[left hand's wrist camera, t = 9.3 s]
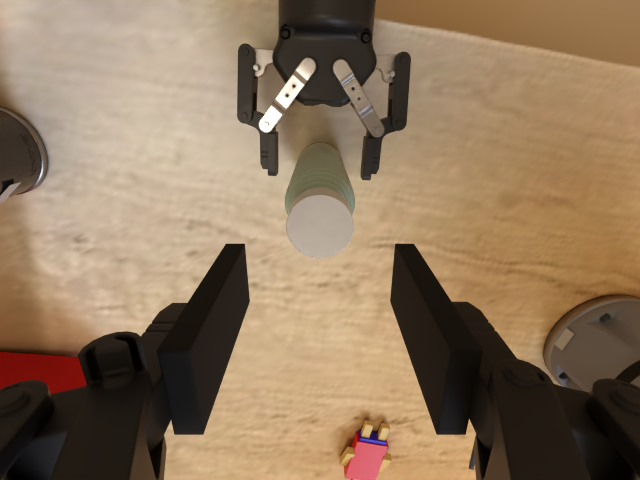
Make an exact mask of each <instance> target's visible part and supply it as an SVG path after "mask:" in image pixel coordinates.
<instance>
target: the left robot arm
mask: <svg viewBox="0 0 640 480" xmlns="http://www.w3.org/2000/svg"><path fill="white" fill-rule="evenodd" d="M249 302H250V299H249V287H248V276H247V264H246V253H245V244H226V245H225V246H224V248H223V249H222V251H221V253H220V254H219V256H218V257H217V259H216V260H215V262H214V263H213V265H212V266H211V268H210V269H209V271H208V272H207V274H206V276H205V277H204V279H203V280H202V282H201V283H200V285H199V286H198V288H197V289H196V291H195V292H194V294H193V296H192V297H191V299H190V300H189V302H188V303H172V304H170V305H169V306H167V307H166V308H164V309H163V310H162V311H160V312H159V313H158V315H157V316H156V317H155V319H154V320H153V321H152V324H150V325H149V327H148V328H147V329H146V332H144V333H143V334H142V336H141V337H140V336H139V335H138V334H137V333H133V332H128V331H127V332H116V333H112V334H108V335H104V336H102V337H100V338H98V339H96V340H94V341H92V342H91V343H89V344H88V345H86V346H85V347H84V348H83V349H82V350H81V351H80V353H79V354H78V358H79V361H80V364H81V368H82V371H83V374H84V377H85V380H86V383H87V384H86V386H83V387H80V388H75V389H71V390H66V391H62V392H58V393H53V394H51V393H50V391H49V388H48V385H47V384H46V383H44V382H43V381H40V380H27V381H21V382H17V383H14V384H12V385H9V386H6V387H4V388H2V389H0V480H164V470H165V459H166V442H165V437H164V433H165V431H166V429H167V427H168V425H169V423H170V421H172V425H173V430H174V435H203V434H204V431H205V428H206V425H207V422H208V419H209V416H210V414H211V411H212V408H213V405H214V402H215V399H216V396H217V394H218V391H219V388H220V385H221V382H222V379H223V376H224V374H225V371H226V368H227V365H228V362H229V359H230V356H231V353H232V351H233V348H234V345H235V342H236V339H237V336H238V333H239V331H240V328H241V325H242V322H243V319H244V316H245V313H246V310H247V308H248V305H249ZM390 302H391V305H392V308H393V311H394V313H395V316H396V319H397V322H398V325H399V328H400V331H401V333H402V336H403V339H404V342H405V345H406V348H407V351H408V353H409V356H410V359H411V362H412V365H413V368H414V371H415V374H416V376H417V379H418V382H419V385H420V388H421V391H422V394H423V396H424V399H425V402H426V405H427V408H428V411H429V414H430V417H431V419H432V422H433V425H434V428H435V431H436V434H437V435H466V430H467V425H468V421H469V419H470V421H471V423H472V425H473V427H474V430H475V432H476V437H475V441H474V446H473V450H472V454H471V459H470V464H469V469H474V465H475V469H476V480H640V298H637V297H633V296H627V295H612V296H605V297H601V298H597V299H594V300H591V301H589V302H586V303H584V304H582V305H580V306H578V307H577V308H575V309H573V310H572V311H571V312H569V313H568V314H567V315H565V316H564V317H563V318H562V319H561V320H560V321H559V322H558V323H557V324H556V326H555V327H554V328H553V330H552V331H551V333H550V334H549V336H548V339H547V341H546V344H545V348H544V360H545V364H546V367H547V369H548V370H549V372H550V373H551V374H552V376H553V377H554V378H555V379H556V380H557V381H558V383H559V384H561V385H562V386H563V387H562V386H559V385H555V384H553V382H552V381H551V379H550V378H549V376H548V375H547V374H546V373H545V372H543V371H542V370H541V369H540V368H538V367H536V366H534V365H532V364H530V363H529V362H526V361H522V360H519V359H517V358H516V357H515V355H514V354H513V353H512V351H511V350H510V349H509V347H508V346H507V345H506V343H505V342H504V341H503V340H502V338H501V337H500V336H499V334H498V333H497V332H496V331H495V329H494V328H493V326H492V325H491V324H490V323H488V320H487V319H486V317H485V316H484V315H483V313H482V312H481V311H480V310H479V309H477V308H476V307H474V306H473V305H471V304H470V303H469V302H451V300H450V299H449V297H448V296H447V294H446V292H445V291H444V289H443V288H442V286H441V285H440V283H439V282H438V280H437V279H436V277H435V276H434V274H433V272H432V271H431V269H430V268H429V266H428V265H427V263H426V262H425V260H424V259H423V257H422V256H421V254H420V253H419V251H418V249H417V248H416V246H415V245H414V244H395V253H394V264H393V276H392V287H391V299H390Z"/></svg>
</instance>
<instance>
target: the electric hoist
mask: <svg viewBox="0 0 640 480" xmlns="http://www.w3.org/2000/svg"><path fill="white" fill-rule="evenodd" d="M27 380H40V381H43V382H44V383H46V384H47V385H48V388H49V391H50V393H51V394H53V393H58V392H62V391H66V390H71V389H75V388H80V387H83V386H86V384H87V383H86V380H85V377H84V374H83V371H82V368H81V364H80V361H79V358H78V357H65V356H51V355H38V354H24V353H10V352H0V389H2V388H4V387H6V386H9V385H12V384H14V383H17V382H21V381H27Z"/></svg>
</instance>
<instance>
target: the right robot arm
mask: <svg viewBox="0 0 640 480" xmlns="http://www.w3.org/2000/svg"><path fill="white" fill-rule="evenodd" d="M375 1H376V0H279V37H278V42H277V45H276V47H275V49H274V50H268V49H259V48H253V47H251V46H250V45H249V44H242V45H241V46H240V47H239V50H238V102H237V117H238V119H239V121H240V122H242V123H246V124H248V125H251V126H253V127H255V128H256V129H257V130H258V131H259V133H260V156H261V165H262V168H263V169H268V176H276V175H277V174H278V132H276V126H277V124H278V123H279V122H280V120H281V119H282V118H283V116H284V115H285V114H286V112H287V111H288V110H289V109H290V107H291V106H292V105H293V103H294V102H295V101H296V100H297V101H298V102H300V103H301V104H304V105H309V106H314V105H318V104H326V105H329V106H332V107H341V106H344V105H346V104H348V103H350V105H351V106H352V108H353V109H354V111H355V113H356V114H357V115H358V117H359V118H360V120H361V122H362V123H363V125H364V127H365V128H366V130H367V134H366V136H364V139H363V151H362V162H361V178H362V180H370V179H371V174H376V173H377V171H378V169H379V162H380V152H381V143H382V139H383V137H384V136H385V135H386V134H388V133H391V132H394V131H400V130H403V129H404V128H405V126H406V122H407V107H408V93H409V78H410V64H411V57H410V55H409V54H408V53H407V52H401V53H398V54H396V55H376V54H375V52H374V49H373V44H372V36H373V24H374V12H375ZM270 64H274V66H275V68H276V69H277V71H278V73H279V74H280V76H281V77H282V79H283V80H284V82H285V86H284V87H283V89H282V90H281V91H280V93H279V94H278V95H277V97H276V98H275V100H274V101H273V103H272V105H271V106H270V107H269V109H268V110H267V112H266V113H265V114H263V113H261V112H258V111H257V85H258V77H262V76H264V74H265V73H266V69H267V67H268V65H270ZM375 68H376V69H378V70H379V71H380V72H381V75H382V80H383V81H384V82H386V83H389V93H388V113H387V117H386V118H383V119H379V117H378V116H377V114H376V112H375V111H374V109H373V107H372V105H371V103H370V101H369V99H368V98H367V96H366V94H365V93H364V91H363V89H362V88H361V87H362V86H363V84H364V83H365V82H366V81H367V79H368V78H369V77H370V75H371V74H372V73H373V71H374V70H375ZM47 169H48V157H47V152H46V149H45V146H44V144H43V142H42V140H41V138H40V136H39V135H38V133H37V132H36V131H35V129H34V128H33V127H32V126H31V125H30V124H29V123H28V122H27V121H26V120H25V119H24V118H22V117H21V116H20V115H18V114H17V113H15V112H13V111H11V110H9V109H7V108H4V107H1V106H0V203H2V202H4V201H5V200H6V199H7V197H10V196H13V195H18V194H23V193H26V192H29V191H31V190H33V189H35V188H37V187H38V186H39V185H40V184H41V183H42V181H43V180H44V178H45V176H46V173H47Z"/></svg>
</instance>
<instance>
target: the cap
mask: <svg viewBox="0 0 640 480" xmlns="http://www.w3.org/2000/svg"><path fill="white" fill-rule="evenodd" d="M286 229H287V235H288V238H289V240H290V242H291V243H292V245H293V246H294V247H295V248H296V249H297V250H298V251H300V252H301V253H303V254H304V255H307V256H310V257H314V258H326V257H330V256H333V255H335V254H337V253H339V252H341V251H342V250H343V249H344V248H345V247H346V246H347V245H348V243H349V242H350V240H351V238H352V235H353V230H354V222H353V218H352V214H351V210H350V207H349V205H348V203H347V201H346V200H345V199H344V198H343V197H342V196H341V195H340V194H339V193H337V192H336V191H334V190H331V189H328V188H320V187H319V188H312V189H309V190H306V191H304V192H303V193H301V194H300V195H299V196H298V197H297V198H296V199H295V200H294V202H293V203H292V205H291V207H290V211H289V214H288V218H287V223H286Z"/></svg>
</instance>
